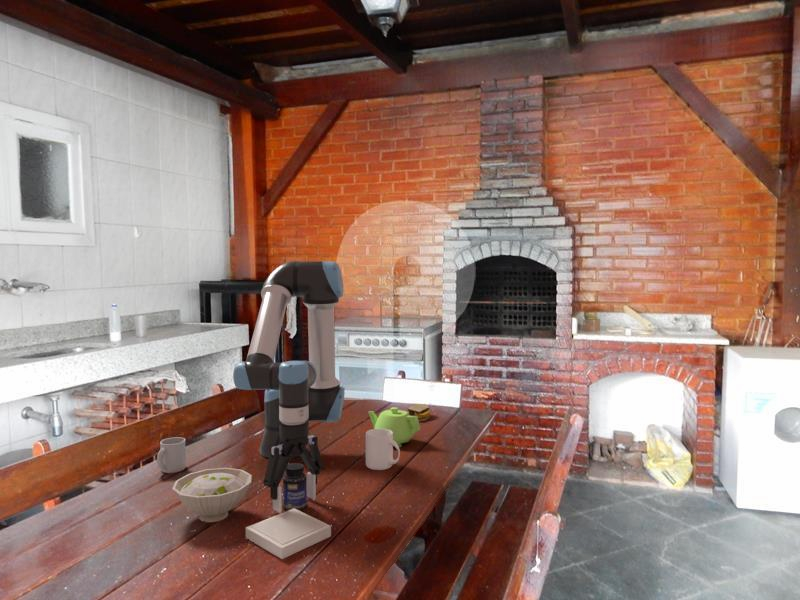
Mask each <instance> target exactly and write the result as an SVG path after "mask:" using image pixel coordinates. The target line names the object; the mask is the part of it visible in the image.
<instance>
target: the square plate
mask: <svg viewBox="0 0 800 600" xmlns="http://www.w3.org/2000/svg"><path fill="white" fill-rule="evenodd" d="M330 537H332V526H331V524H328V523H326V522H324V521H322V520H320V519H318V518H316V517H313V516H311V515H309V514H308V513H305V512H302V510H300V511H299V510H297V509H295V508H294V509H291V510H289V511H287V510H285V511H284V512H280V513H279V514H276V515H273V516H271V517H269V518H267V519H264V520H261V521H258V522H256V523H253V524H251V525H248V526H246V527H245V539H247V540H248V539H249V541H250V542H251V543H253V542H254V544H255V545H257V546H259V547H261V548H262V549H264V550H265V551H267V552H268V553H270V554H272V555H274V556H275V557H278V558H279V559H281V560H283V559H286V558H288V557H290V556H292V555H294V554H297V553H298V552H300V551H302V550H305V549H307V548H310V547H311V546H313V545H315V544H317V543H320V542H322V541H323V540H326V539H328V538H330Z"/></svg>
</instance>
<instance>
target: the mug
mask: <svg viewBox="0 0 800 600" xmlns="http://www.w3.org/2000/svg"><path fill="white" fill-rule="evenodd" d="M394 447H395V449H396V450H397V454H398V456H397V458H396V459H394V456H393V455H394V454H393V453H394ZM400 455H401V449H400V447H399V446H398V445H397V443H396V442H395V441H394V440H393V432H392V431H391V430H387V429H374V428H373V429H368V430H367V431H365V465H366V467H367V468H368V469H370V470H374V471H384V470H385V471H386V470H388V469H390V468H391V467H393V465H396V464H397V463H398V462H399V461H400V457H401V456H400Z"/></svg>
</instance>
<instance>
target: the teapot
mask: <svg viewBox="0 0 800 600" xmlns="http://www.w3.org/2000/svg"><path fill="white" fill-rule="evenodd" d="M408 412H409V411H406V410H401V409H399V407H397V406H396V407H395V406H394V407H393V406H392V407H390V409H386V410H384V411H381V413H380V414H379V415H378V416H377V414H376V413H375V412H374V410H373V411H372V410H370V411H368V415H369V416H368V417H370V421H371V423H372V426H373V429H387V430H391V431H392V432H393V440H394V441H395V442H396V443H397V445H398V446H399V448H402V444H404V443H409V442H410V441H411V439H412V438H413V437H414V435H415V434H416V433H417V432H418V431H420V430H421V426H420V422H419V421H418V416H410V415H409V413H408Z"/></svg>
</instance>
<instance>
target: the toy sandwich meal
mask: <svg viewBox="0 0 800 600" xmlns="http://www.w3.org/2000/svg"><path fill="white" fill-rule="evenodd" d="M407 412H408V413H409V415H410V416H418V421H419V423H422V422H426V421H428V420H429V419H430V417H431V415H430V413H431V410H430V406H429V405H426V404H423V403H415V404H414V405H411V406H410V407H408V408H407ZM427 419H428V420H427ZM421 421H422V422H421Z"/></svg>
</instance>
